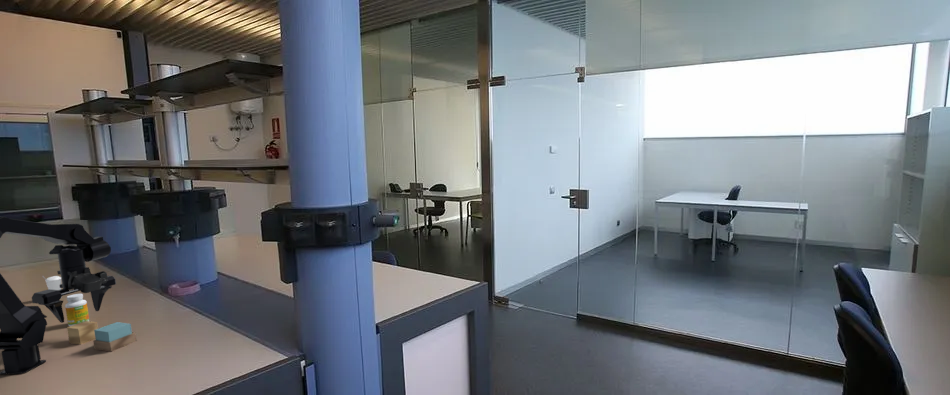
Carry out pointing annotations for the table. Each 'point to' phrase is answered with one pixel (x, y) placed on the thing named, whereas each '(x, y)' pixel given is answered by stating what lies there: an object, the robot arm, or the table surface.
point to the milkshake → (53, 283)
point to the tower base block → (115, 343)
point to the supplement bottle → (76, 309)
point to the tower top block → (113, 332)
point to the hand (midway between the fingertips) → (80, 316)
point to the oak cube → (82, 332)
